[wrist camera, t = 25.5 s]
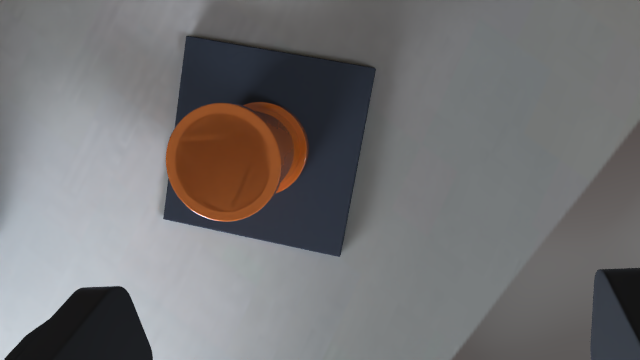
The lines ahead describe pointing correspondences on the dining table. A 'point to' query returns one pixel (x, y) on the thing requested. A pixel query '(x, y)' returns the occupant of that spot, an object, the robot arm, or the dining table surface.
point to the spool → (235, 157)
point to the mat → (317, 120)
